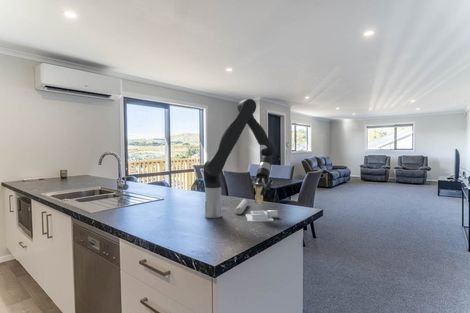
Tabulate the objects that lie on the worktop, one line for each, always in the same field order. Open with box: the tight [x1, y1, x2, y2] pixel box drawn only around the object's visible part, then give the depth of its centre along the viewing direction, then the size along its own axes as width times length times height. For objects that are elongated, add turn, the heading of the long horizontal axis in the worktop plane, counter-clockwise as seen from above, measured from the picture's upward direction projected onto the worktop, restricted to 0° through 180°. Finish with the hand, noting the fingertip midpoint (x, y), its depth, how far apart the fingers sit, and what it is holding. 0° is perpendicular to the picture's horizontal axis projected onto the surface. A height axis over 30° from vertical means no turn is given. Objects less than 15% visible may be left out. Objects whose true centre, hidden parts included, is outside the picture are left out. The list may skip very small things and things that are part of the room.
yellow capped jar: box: [253, 182, 264, 205], centre depth 148 cm, size 6×6×11 cm
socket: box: [245, 209, 279, 223], centre depth 149 cm, size 18×14×4 cm
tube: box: [234, 198, 250, 215], centre depth 168 cm, size 5×5×25 cm
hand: (258, 194), depth 146 cm, fingers closed on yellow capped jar, 4 cm apart
